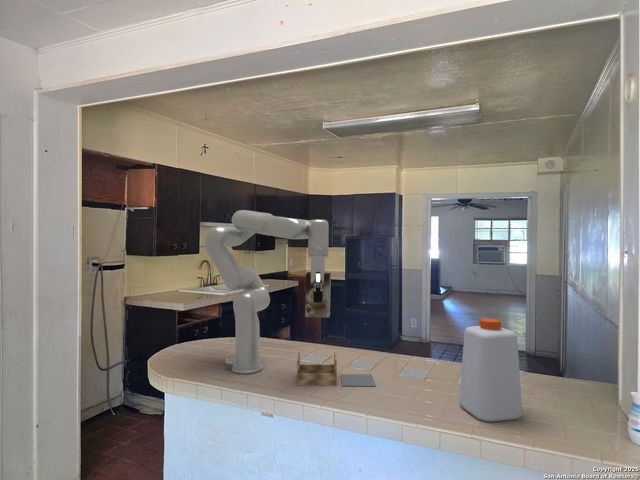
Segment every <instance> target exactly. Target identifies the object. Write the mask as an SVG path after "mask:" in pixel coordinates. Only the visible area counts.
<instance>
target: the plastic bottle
mask: <svg viewBox="0 0 640 480" xmlns="http://www.w3.org/2000/svg"><path fill="white" fill-rule="evenodd" d="M518 346H519V345H518V335H517V333H515V331H512V330H510V329H508V328H503V327H502V321H501V320H500V319H496V318H491V317H490V318H489V317H488V318H487V317H484V318H480V319H479V325H474V326H473V325H471V326H468V327H466V328H465V329H464V336H463V347H462V348H463V350H462V362H461V375H460V386H459V387H460V388H459V398H458V399H459V400H458V403H459V405H460V407H462V409H464V410H466V411H467V412H468V413H470V414H471V415H472V416H473V417H475V418H477V420H480V421H484V422H490V423H495V422H502V421H513V420H517V419H520V418H521V417H522V415H523V405H522V404H523V401H522V391H521V389H522V388H521V375H520V360H519V349H518Z"/></svg>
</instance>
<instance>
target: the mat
mask: <svg viewBox="0 0 640 480" xmlns="http://www.w3.org/2000/svg"><path fill="white" fill-rule="evenodd" d="M339 374H340V373H339ZM340 381H341V387H343V388H345V387H346V388H347V387H348V388H350V387H351V388H353V387H354V388H355V387H356V388H358V387H359V388H360V387H361V388H362V387H364V388H367V387H368V388H370V387H371V388H372V387H373V388H376V387H377V385H376V383H375V380H374V377H373V374H370V373H369V374H368V373H367V374H366V373H364V374H363V373H361V374H360V373H355V374H354V373H351V374H349V373H345V374H344V373H341V374H340Z"/></svg>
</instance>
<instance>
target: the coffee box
mask: <svg viewBox="0 0 640 480" xmlns="http://www.w3.org/2000/svg"><path fill="white" fill-rule="evenodd" d="M316 274H317V272H316ZM331 280H332V272H325V274H324V283H323V284H322V303H315V302H314V282H312V284H311V283H310V281H311V271H307V272H306V274H305V302H304V303H305V310H304V311H305V313H304V314H305V315H304V317H305V318H323V319H324V318H326V319H327V318H330V316H331V283H332V281H331ZM315 283H316V278H315ZM320 283H321V281H320Z"/></svg>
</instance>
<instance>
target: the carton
mask: <svg viewBox="0 0 640 480" xmlns="http://www.w3.org/2000/svg"><path fill="white" fill-rule="evenodd" d="M296 359H297V360H296V361H297V362H296V365H297V366H296V367H297V368H296V369H297V370H296V385H297V386H337V382H338V381H337V380H338V379H337V376H338V373H337V365H338V364H337V363H338V360H337V353H336V351H333V363H331V364H330V363H328V364H326V363H325V364H323V363H320V364H319V363H314V364H313V363H312V364H311V363H310V364H309V363H303V364H302V363H301V351H298V354H297V358H296Z"/></svg>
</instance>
